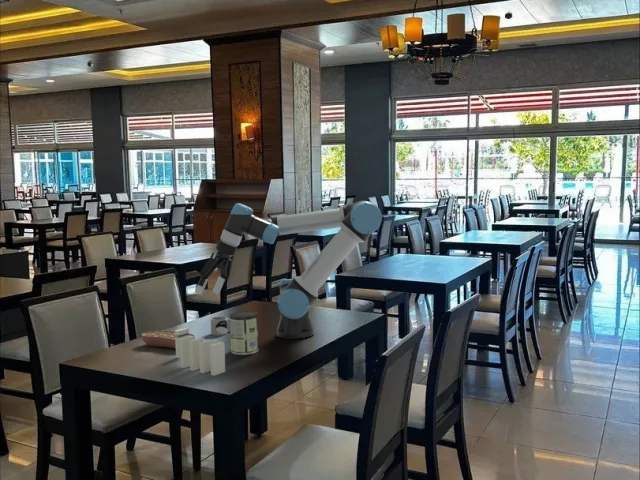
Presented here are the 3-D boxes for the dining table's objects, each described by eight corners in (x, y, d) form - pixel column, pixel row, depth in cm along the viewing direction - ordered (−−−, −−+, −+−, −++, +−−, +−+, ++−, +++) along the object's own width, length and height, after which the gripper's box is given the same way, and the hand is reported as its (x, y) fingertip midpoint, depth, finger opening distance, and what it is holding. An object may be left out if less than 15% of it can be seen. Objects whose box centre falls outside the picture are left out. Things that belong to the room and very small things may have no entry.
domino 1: (189, 355, 231) (188, 328, 230) (179, 358, 227) (177, 331, 226) (186, 354, 232) (185, 327, 231) (176, 357, 228) (174, 330, 227)
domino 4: (214, 369, 213) (213, 340, 212) (203, 373, 209) (202, 343, 208) (211, 368, 214) (210, 339, 213) (200, 372, 210) (198, 343, 209)
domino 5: (225, 371, 210) (224, 342, 209) (214, 375, 206) (213, 345, 205) (221, 371, 211) (220, 341, 210) (210, 375, 207) (209, 345, 206)
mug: (216, 336, 257) (216, 320, 257) (208, 334, 262) (207, 318, 262) (237, 332, 264) (236, 316, 263) (228, 329, 269) (228, 314, 268)
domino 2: (194, 364, 219) (193, 336, 218) (183, 368, 215) (182, 339, 214) (191, 363, 220) (190, 335, 219) (180, 367, 216) (179, 338, 215)
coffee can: (238, 346, 241) (237, 310, 240) (263, 348, 238) (261, 311, 236) (225, 354, 231) (224, 316, 230) (251, 355, 228) (250, 317, 227)
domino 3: (204, 367, 216) (203, 338, 215) (193, 370, 212) (192, 341, 211) (201, 366, 217) (200, 337, 216) (190, 369, 213) (188, 340, 212)
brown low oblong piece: (137, 347, 244) (136, 335, 243) (154, 341, 253) (153, 329, 252) (185, 353, 234) (184, 340, 233) (201, 347, 243) (200, 334, 242)
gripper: (235, 240, 253) (214, 288, 254) (204, 236, 229) (182, 289, 231) (250, 248, 250) (229, 296, 252) (221, 245, 227) (198, 298, 229)
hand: (207, 293), depth 242 cm, fingers open, 13 cm apart
